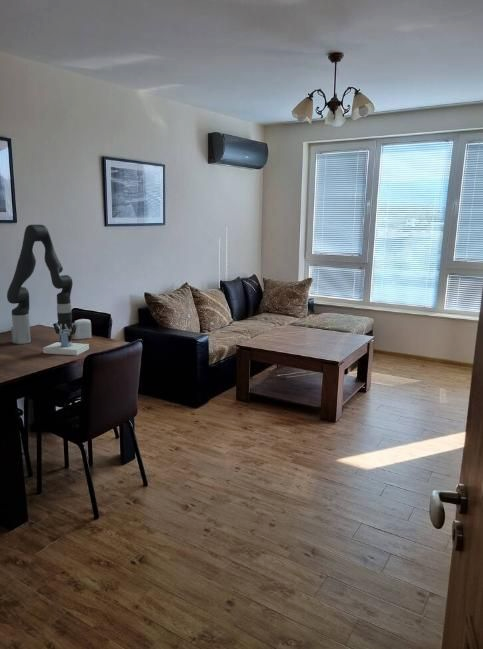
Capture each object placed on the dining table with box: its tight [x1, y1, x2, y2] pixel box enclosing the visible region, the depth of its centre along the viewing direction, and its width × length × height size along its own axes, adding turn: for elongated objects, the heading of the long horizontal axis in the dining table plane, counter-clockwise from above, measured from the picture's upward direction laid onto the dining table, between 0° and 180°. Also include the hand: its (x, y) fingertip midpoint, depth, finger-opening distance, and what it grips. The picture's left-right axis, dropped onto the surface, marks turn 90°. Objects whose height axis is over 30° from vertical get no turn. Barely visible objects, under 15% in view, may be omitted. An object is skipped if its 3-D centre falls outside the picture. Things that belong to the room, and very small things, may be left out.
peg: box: [60, 331, 72, 347], centre depth 269 cm, size 4×4×9 cm
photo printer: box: [73, 318, 92, 340], centre depth 300 cm, size 10×4×12 cm, turn 123°
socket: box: [42, 341, 90, 356], centre depth 270 cm, size 20×14×3 cm
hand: (66, 341), depth 269 cm, fingers closed on peg, 4 cm apart
